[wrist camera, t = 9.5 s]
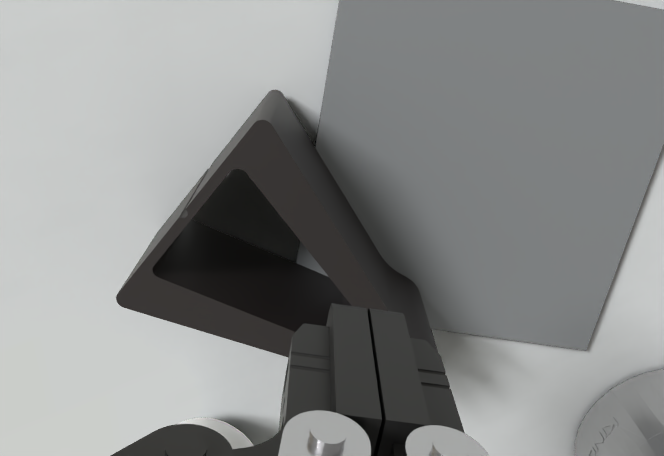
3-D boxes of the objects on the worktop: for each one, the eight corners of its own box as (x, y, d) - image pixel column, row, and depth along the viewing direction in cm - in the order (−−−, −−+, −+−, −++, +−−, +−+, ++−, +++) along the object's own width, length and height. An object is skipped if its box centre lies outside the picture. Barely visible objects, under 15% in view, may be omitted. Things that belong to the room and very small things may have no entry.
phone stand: (261, 114, 21) (513, 317, 24) (273, 86, 26) (476, 252, 29) (112, 301, 23) (357, 463, 26) (152, 238, 29) (350, 378, 32)
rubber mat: (702, 17, 26) (710, 18, 25) (581, 344, 32) (586, 350, 31) (347, -49, 25) (347, -50, 24) (289, 302, 31) (289, 308, 30)
